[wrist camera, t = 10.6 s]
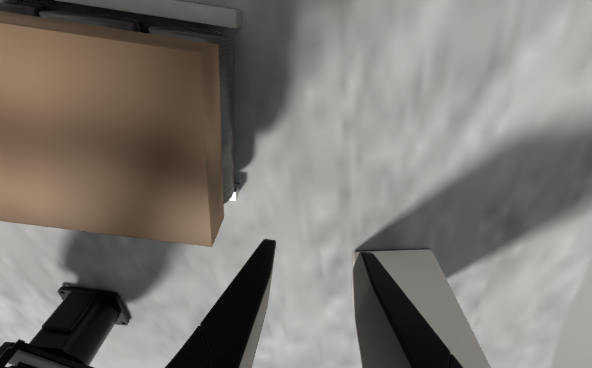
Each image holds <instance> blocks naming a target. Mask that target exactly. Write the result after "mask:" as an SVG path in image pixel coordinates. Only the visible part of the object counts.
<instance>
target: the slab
mask: <svg viewBox="0 0 592 368" xmlns="http://www.w3.org/2000/svg"><path fill="white" fill-rule="evenodd" d="M223 218H224V206H223V175H222V144H221V112H220V81H219V50H218V44H212V43H206V42H199V41H193V40H186V39H180V38H173V37H167V36H160V35H153V34H147V33H140V32H134V31H127V30H121V29H114V28H108V27H101V26H94V25H88V24H81V23H75V22H68V21H62V20H55V19H49V18H42V17H35V16H29V15H22V14H16V13H9V12H3V11H0V221H5V222H13V223H21V224H29V225H37V226H45V227H54V228H62V229H70V230H78V231H86V232H94V233H102V234H110V235H119V236H127V237H135V238H143V239H151V240H159V241H167V242H176V243H184V244H192V245H200V246H208V247H212V245H213V243H214V241H215V238H216V236H217V233H218V231H219V228H220V226H221V223H222V221H223Z"/></svg>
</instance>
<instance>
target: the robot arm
mask: <svg viewBox="0 0 592 368" xmlns="http://www.w3.org/2000/svg"><path fill="white" fill-rule="evenodd" d="M275 248H276V241H275V240H270V239H264V240H263V241H262V242H261V244H260V245H259V246H258V248H257V249H256V250H255V252H254V253H253V254H252V256H251V257H250V258H249V260H248V261H247V262H246V264H245V265H244V266H243V268H242V269H241V270H240V272H239V273H238V274H237V276H236V277H235V278H234V280H233V281H232V282H231V284H230V285H229V286H228V288H227V289H226V290H225V292H224V293H223V294H222V295H221V297H220V298H219V299H218V301H217V302H216V303H215V305H214V306H213V307H212V309H211V310H210V311H209V313H208V314H207V315H206V317H205V318H204V319H203V321H202V322H201V324H200V326H198V327H197V328H196V330H195V331H194V332H193V334H192V335H191V336H190V338H189V339H188V340H187V342H186V343H185V344H184V345H183V347H182V348H181V349H180V350H179V352H178V353H177V354H176V355H175V357H174V358H173V359H172V360H171V361H170V362H169V363H168V365H167V366H166V367H165V368H252V364H253V360H254V356H255V353H256V349H257V345H258V341H259V337H260V333H261V330H262V326H263V322H264V318H265V314H266V310H267V305H268V299H269V292H270V285H271V278H272V270H273V263H274V256H275ZM353 288H354V311H355V322H356V329H357V336H358V342H359V349H360V355H361V362H362V368H463V367H462V365H461V364H460V363H459V361H458V360H457V359H456V358H455V356H454V355H453V354H451V352H450V350H449V349H448V348H447V346H446V345H445V344H444V343H443V341H442V340H441V339H440V337H439V336H438V335H437V334H436V332H435V331H434V330H433V329H432V327H431V326H430V325H429V324H428V322H427V321H426V320H425V318H424V317H423V316H422V315H421V313H420V312H419V311H418V310H417V308H416V307H415V306H414V304H413V303H412V302H411V301H410V299H409V298H408V297H407V296H406V294H405V293H404V292H403V290H402V289H401V288H400V287H399V285H398V284H397V283H396V282H395V280H394V279H393V278H392V277H391V275H390V274H389V273H388V271H387V270H386V269H385V268H384V266H383V265H382V264H381V263H380V261H379V260H378V259H377V257H376V256H375V255H374V254H373V253H371V252H365V251H361V252H360V253H359V254H358V257H357V259H356V262H355V264H354V267H353ZM58 293H59V294H60V296H61V298H62V299H63V302H62V303H61V304H60V305H59V306H58V308H57V309H56V310H55V311H54V312H53V313H52V315H51V316H50V317H49V318H48V319H47V321H46V322H45V323H44V324H43V325H42V329H41V330H40V331H39V332H38V333H37V335H36V336H35V337H34V338H33V339H32V341H31V342H30V343H29V344H27V343H25V341H23V340H20V339H19V340H18V341H17V342H16V343H14V342H13V343H12V342H5V343H4V344H3V345H2V346H1V347H0V368H93V367H91V366H89V365H90V363H91V361H92V360H93V358H94V357H95V355H96V353H97V352H98V350H99V348H100V347H101V345H102V344H103V342H104V340H105V339H106V337H107V335H108V334H109V332H110V331H111V329H112V327H113V326H114V324H118V325H127V324H128V323H129V319H128V316H127V314H126V312H125V309H124V307H123V305H122V302H121V300H120V298H119V296H118V294H116V293H113V292H105V291H96V290H87V289H79V288H70V287H61V288H60V289H59V290H58ZM7 363H9V364H12V366H9V367H5V365H6V364H7ZM14 365H15V366H14Z"/></svg>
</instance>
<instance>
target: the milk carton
mask: <svg viewBox="0 0 592 368" xmlns="http://www.w3.org/2000/svg"><path fill="white" fill-rule="evenodd" d="M367 252H371V253H373V254H374V255H375V256H376V257H377V259H378V260H379V261H380V263H381V264H382V265H383V266H384V268H385V269H386V270H387V271H388V273H389V274H390V275H391V277H392V278H393V279H394V280H395V282H396V283H397V284H398V285H399V287H400V288H401V289H402V290H403V292H404V293H405V294H406V296H407V297H408V298H409V299H410V301H411V302H412V303H413V304H414V306H415V307H416V308H417V310H418V311H419V312H420V313H421V315H422V316H423V317H424V318H425V320H426V321H427V322H428V324H429V325H430V326H431V327H432V329H433V330H434V331H435V332H436V334H437V335H438V336H439V337H440V339H441V340H442V341H443V343H444V344H445V345H446V346H447V348H448V349H449V350H450V352H451V354H453V355H454V356H455V358H456V359H457V360H458V361H459V363H460V364H461V365H462V367H463V368H491V367H490V365H489V363H488V361H487V359H486V357H485V355H484V353H483V351H482V349H481V347H480V345H479V343H478V341H477V339H476V337H475V335H474V333H473V331H472V329H471V327H470V325H469V323H468V321H467V319H466V317H465V315H464V313H463V311H462V309H461V307H460V305H459V303H458V301H457V299H456V297H455V295H454V293H453V291H452V289H451V287H450V285H449V283H448V281H447V279H446V277H445V275H444V273H443V271H442V269H441V267H440V265H439V263H438V261H437V259H436V257H435V255H434V253H433V252H432V250H397V251H367ZM359 253H360V252H354V253H353V267H354V264H355V262H356V259H357V257H358V254H359ZM352 302H353V309H354V288H353V277H352ZM354 316H355V311H354ZM355 323H356V322H355ZM356 330H357V329H356ZM358 343H359V342H358ZM359 350H360V349H359ZM360 357H361V355H360ZM361 364H362V362H361Z"/></svg>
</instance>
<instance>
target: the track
mask: <svg viewBox="0 0 592 368" xmlns="http://www.w3.org/2000/svg"><path fill="white" fill-rule="evenodd" d="M56 1H62V2H69V3H75V4H81V5H88V6H94V7H101V8H107V9H114V10H120V11H127V12H133V13H139V14H146V15H152V16H159V17H165V18H172V19H178V20H185V21H191V22H197V23H204V24H210V25H217V26H223V27H230V28H240V27H241V10H237V9H231V8H224V7H218V6H212V5H205V4H199V3H193V2H186V1H180V0H56ZM0 11H3V12H9V13H16V14H22V15H29V16H35V17H42V18H49V19H55V20H62V21H68V22H75V23H81V24H88V25H94V26H101V27H108V28H114V29H121V30H127V31H134V32H140V28H139V22H138V21H137V20H134V19H130V18H126V17H120V16H114V15H106V14H98V13H88V12H74V11H44V8H43V6H42V5H39V4H35V3H29V2H23V1H16V0H0ZM148 29H149V34H153V35H160V36H167V37H173V38H180V39H186V40H193V41H199V42H206V43H212V44H218V50H219V81H220V112H221V144H222V175H223V204H224V203H226V202H227V201H229V200H234V201H236V199H237V196H238V194H239V184H238V183H234V37H233V36H231V35H228V34H225V33H221V32H216V31H211V30H205V29H197V28H189V27H177V26H153V27H149V28H148Z"/></svg>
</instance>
